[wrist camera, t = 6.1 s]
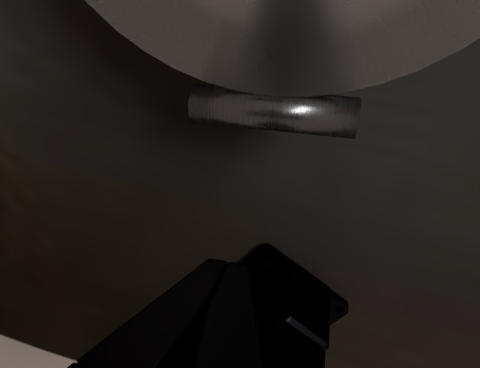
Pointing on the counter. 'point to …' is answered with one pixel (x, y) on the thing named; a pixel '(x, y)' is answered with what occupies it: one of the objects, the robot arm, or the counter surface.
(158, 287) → the counter surface
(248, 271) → the robot arm
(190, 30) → the lid
